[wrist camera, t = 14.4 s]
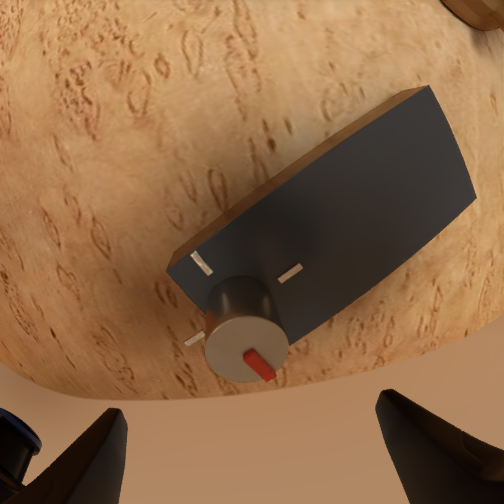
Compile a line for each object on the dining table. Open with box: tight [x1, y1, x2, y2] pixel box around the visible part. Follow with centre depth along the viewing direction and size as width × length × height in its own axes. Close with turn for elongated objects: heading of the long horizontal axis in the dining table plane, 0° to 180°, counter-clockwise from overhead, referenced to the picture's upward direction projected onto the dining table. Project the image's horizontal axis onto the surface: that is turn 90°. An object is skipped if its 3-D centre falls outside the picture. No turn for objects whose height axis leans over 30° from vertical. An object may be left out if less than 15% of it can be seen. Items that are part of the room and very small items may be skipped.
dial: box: [204, 277, 289, 383], centre depth 14 cm, size 4×4×4 cm
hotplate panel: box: [166, 85, 477, 346], centre depth 17 cm, size 20×8×3 cm, turn 126°
